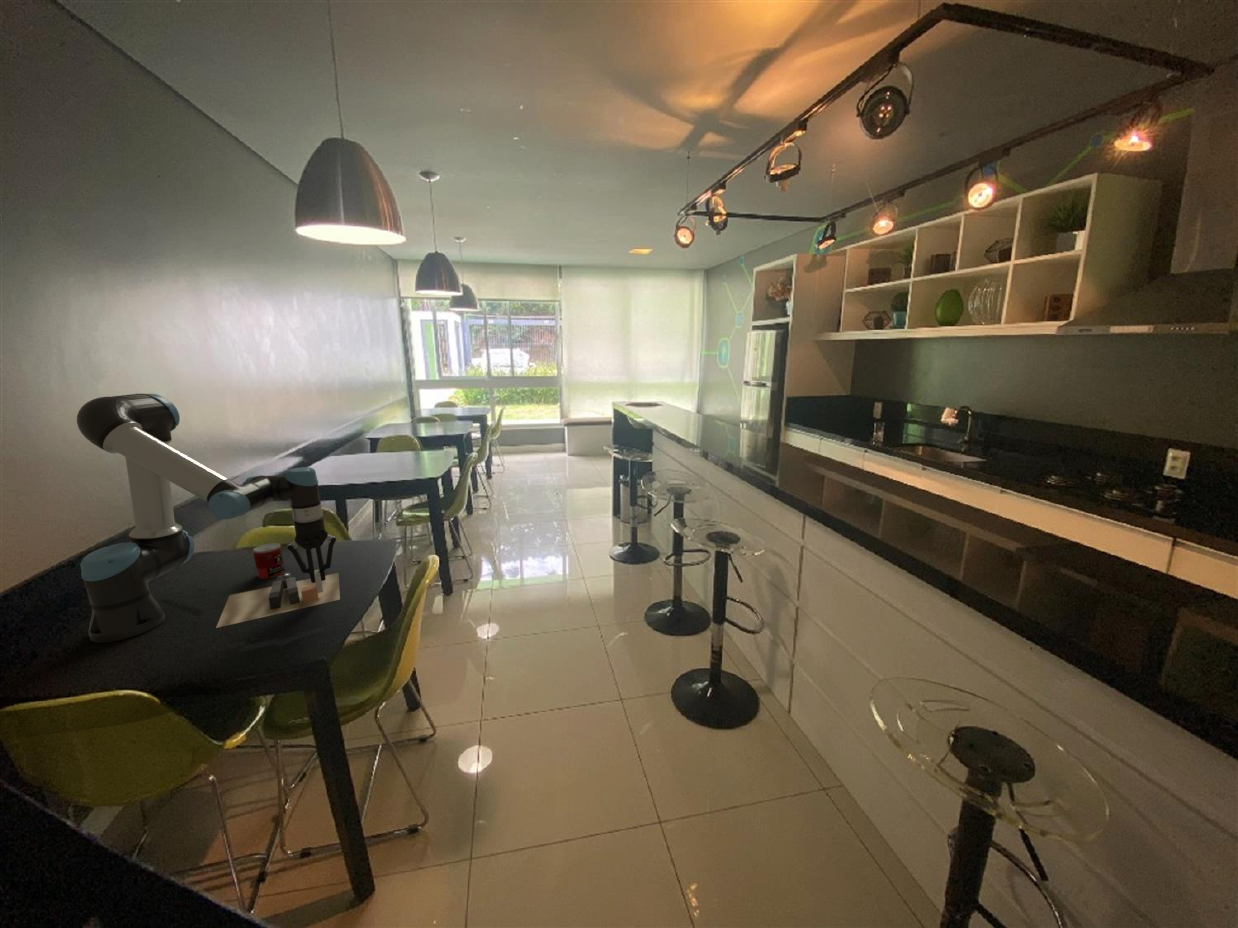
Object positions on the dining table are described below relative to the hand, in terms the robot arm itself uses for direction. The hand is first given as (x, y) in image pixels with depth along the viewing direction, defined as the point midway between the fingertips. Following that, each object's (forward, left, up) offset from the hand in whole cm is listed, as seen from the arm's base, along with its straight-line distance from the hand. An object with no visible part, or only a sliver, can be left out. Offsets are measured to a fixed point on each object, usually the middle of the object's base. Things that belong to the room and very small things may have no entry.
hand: (320, 590), depth 151 cm
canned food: (-15, +28, -3) cm, 32 cm away
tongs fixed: (-11, +7, -2) cm, 13 cm away
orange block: (-3, 0, -2) cm, 3 cm away
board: (-10, +5, -3) cm, 12 cm away
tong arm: (-7, +5, -2) cm, 9 cm away
